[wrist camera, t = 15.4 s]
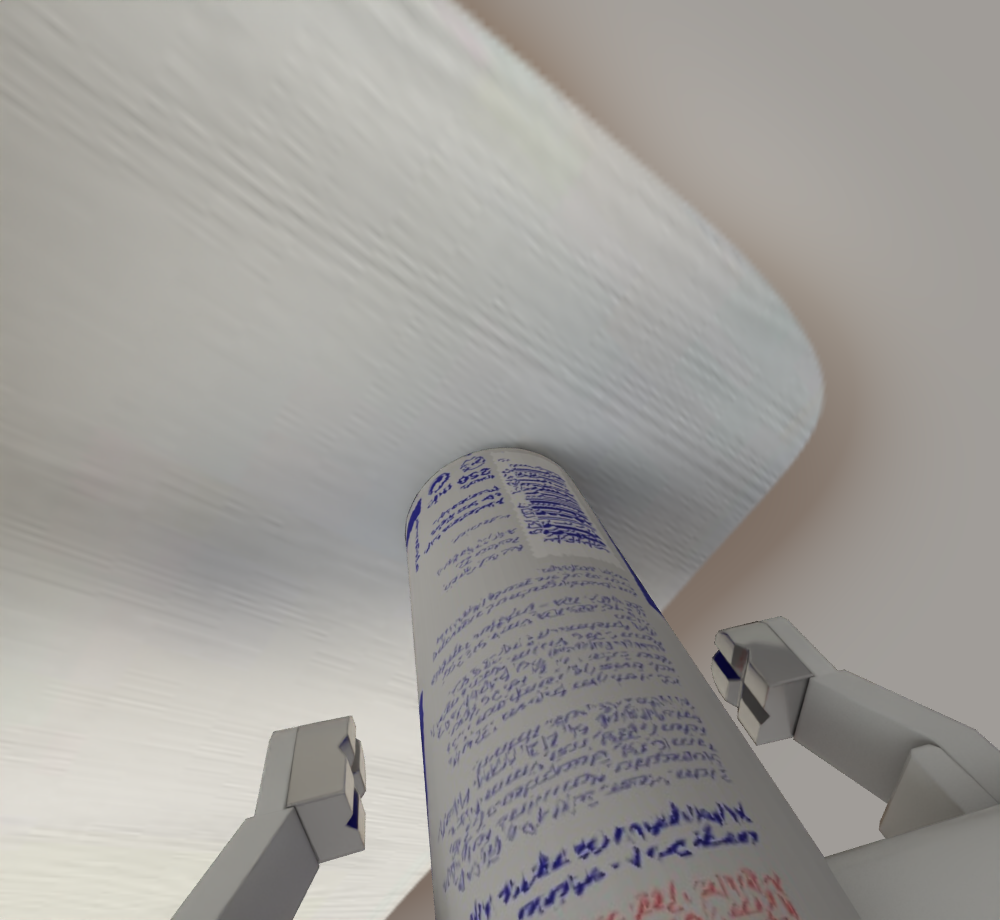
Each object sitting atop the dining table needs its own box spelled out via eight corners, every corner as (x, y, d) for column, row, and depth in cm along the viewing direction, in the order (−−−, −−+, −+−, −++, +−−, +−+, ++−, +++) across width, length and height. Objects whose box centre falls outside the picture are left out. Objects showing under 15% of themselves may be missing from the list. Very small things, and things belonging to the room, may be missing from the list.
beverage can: (371, 552, 17) (341, 1884, 4) (468, 407, 15) (1037, 1794, 2) (513, 610, 19) (816, 1554, 6) (609, 489, 17) (1313, 1394, 4)
